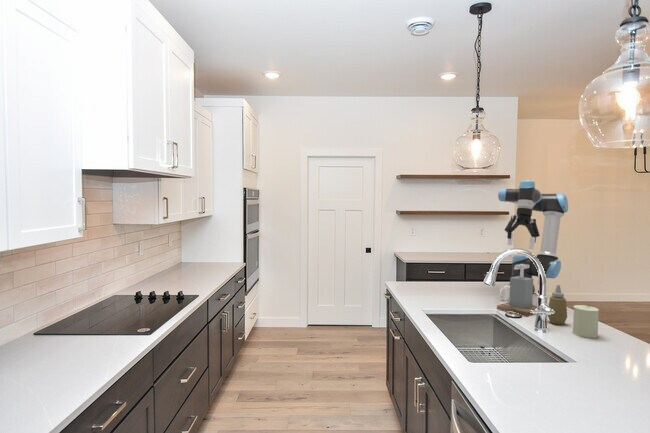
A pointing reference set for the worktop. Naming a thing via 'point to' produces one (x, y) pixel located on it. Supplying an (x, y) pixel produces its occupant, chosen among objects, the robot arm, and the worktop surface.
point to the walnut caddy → (516, 309)
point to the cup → (506, 292)
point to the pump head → (521, 269)
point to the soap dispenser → (521, 292)
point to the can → (585, 321)
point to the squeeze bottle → (558, 307)
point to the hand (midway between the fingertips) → (520, 246)
